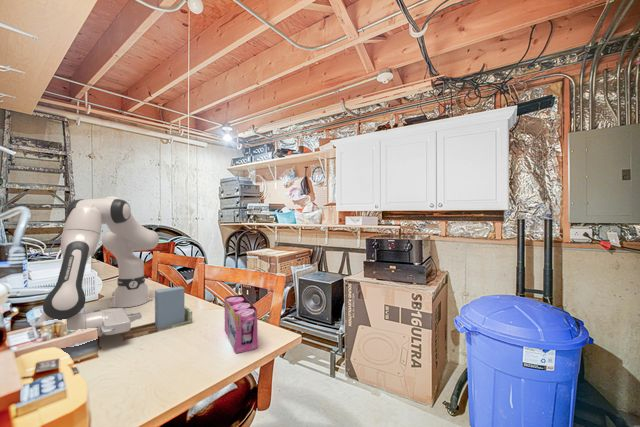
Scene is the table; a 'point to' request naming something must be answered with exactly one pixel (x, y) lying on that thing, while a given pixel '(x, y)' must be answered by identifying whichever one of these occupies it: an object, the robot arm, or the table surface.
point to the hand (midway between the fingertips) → (140, 315)
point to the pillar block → (169, 307)
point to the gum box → (241, 323)
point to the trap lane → (151, 327)
